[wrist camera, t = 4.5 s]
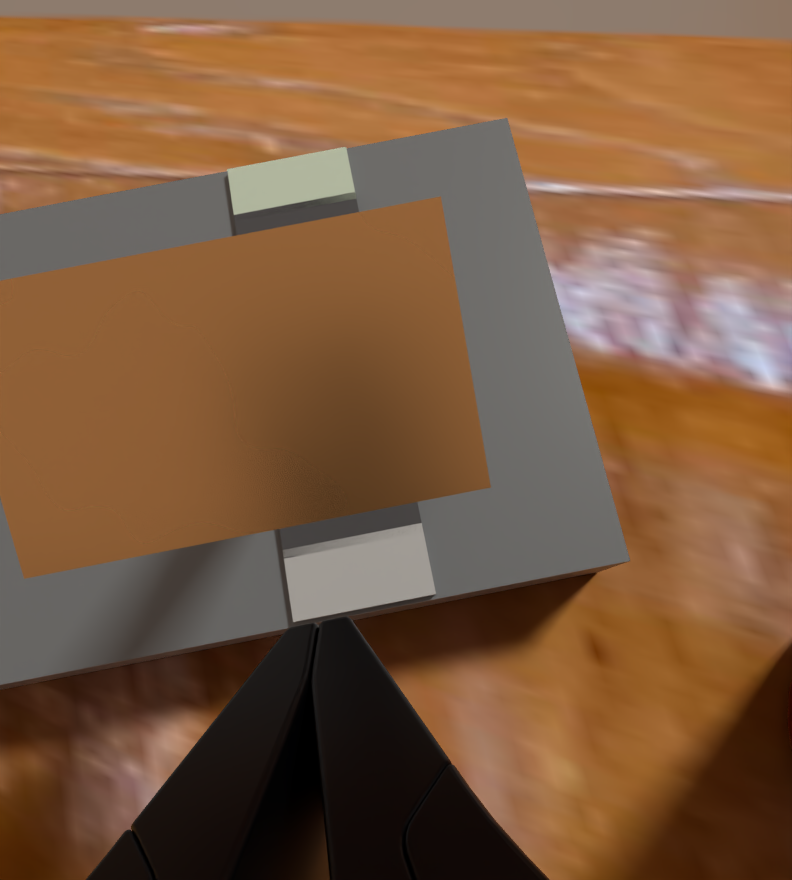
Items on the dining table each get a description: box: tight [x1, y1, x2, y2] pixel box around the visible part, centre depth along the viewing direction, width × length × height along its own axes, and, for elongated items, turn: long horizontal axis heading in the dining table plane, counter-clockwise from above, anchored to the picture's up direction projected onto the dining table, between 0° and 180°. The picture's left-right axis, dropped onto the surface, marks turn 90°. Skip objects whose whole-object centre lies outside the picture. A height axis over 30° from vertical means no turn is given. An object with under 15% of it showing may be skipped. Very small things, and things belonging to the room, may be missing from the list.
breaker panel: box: [0, 118, 630, 690], centre depth 19 cm, size 12×20×3 cm, turn 101°
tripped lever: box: [0, 196, 491, 579], centre depth 11 cm, size 2×4×11 cm, turn 100°
